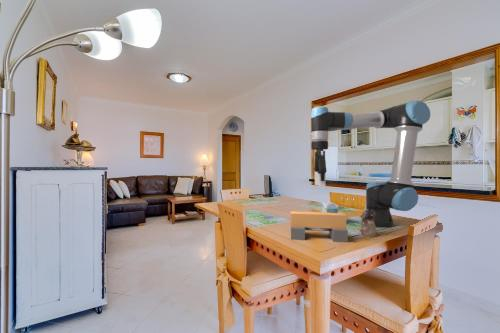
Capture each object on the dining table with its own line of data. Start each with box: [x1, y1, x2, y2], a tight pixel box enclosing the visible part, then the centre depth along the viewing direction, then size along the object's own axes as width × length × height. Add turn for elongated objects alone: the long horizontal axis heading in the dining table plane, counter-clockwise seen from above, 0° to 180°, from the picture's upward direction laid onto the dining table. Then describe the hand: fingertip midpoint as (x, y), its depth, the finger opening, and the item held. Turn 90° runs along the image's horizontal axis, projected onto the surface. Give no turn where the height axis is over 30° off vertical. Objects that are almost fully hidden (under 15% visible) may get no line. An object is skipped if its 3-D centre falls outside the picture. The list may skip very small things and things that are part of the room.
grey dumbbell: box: [290, 226, 349, 243], centre depth 110 cm, size 24×10×5 cm, turn 81°
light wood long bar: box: [290, 210, 347, 229], centre depth 110 cm, size 24×5×6 cm, turn 81°
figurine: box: [358, 208, 377, 238], centre depth 114 cm, size 7×7×12 cm
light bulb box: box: [321, 201, 340, 213], centre depth 136 cm, size 11×7×11 cm, turn 179°
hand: (319, 186), depth 112 cm, fingers open, 13 cm apart
